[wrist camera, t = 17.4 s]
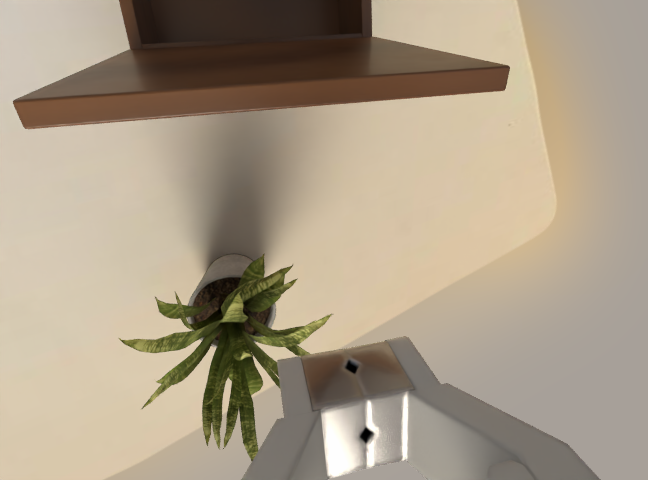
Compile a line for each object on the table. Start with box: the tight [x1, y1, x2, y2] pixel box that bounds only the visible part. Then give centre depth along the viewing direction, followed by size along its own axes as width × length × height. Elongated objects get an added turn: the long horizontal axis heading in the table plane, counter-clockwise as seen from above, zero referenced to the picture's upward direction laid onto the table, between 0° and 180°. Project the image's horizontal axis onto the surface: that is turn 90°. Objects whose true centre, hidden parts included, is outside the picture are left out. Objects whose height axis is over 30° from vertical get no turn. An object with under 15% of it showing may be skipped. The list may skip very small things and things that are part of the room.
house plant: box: [119, 254, 333, 461], centre depth 29 cm, size 14×14×16 cm
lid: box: [13, 37, 510, 129], centre depth 17 cm, size 14×15×1 cm
